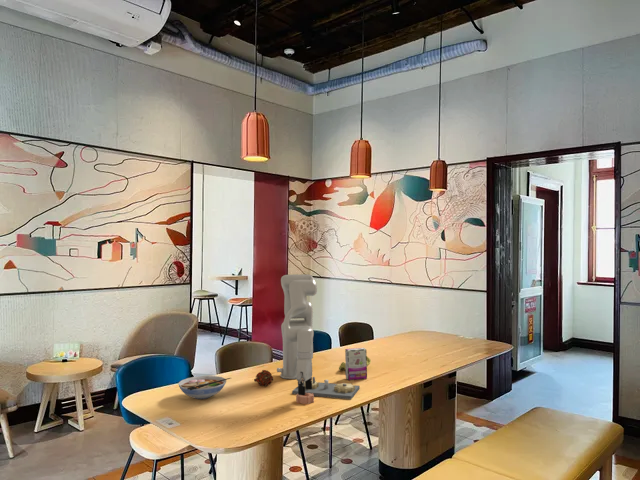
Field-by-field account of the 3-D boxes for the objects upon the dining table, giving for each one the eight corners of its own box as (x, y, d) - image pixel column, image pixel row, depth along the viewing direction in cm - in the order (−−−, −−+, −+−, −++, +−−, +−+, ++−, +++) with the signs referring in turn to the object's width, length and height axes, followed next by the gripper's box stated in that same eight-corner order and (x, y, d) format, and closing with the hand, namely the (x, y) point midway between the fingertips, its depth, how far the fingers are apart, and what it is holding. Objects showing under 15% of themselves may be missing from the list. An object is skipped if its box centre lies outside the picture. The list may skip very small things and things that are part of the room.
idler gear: (294, 402, 214) (294, 396, 214) (299, 398, 220) (299, 392, 221) (311, 404, 211) (311, 397, 211) (315, 399, 218) (315, 393, 218)
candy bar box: (364, 376, 258) (363, 347, 259) (367, 379, 254) (367, 349, 254) (345, 378, 255) (344, 348, 256) (348, 380, 251) (347, 350, 251)
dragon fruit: (270, 391, 238) (257, 389, 246) (280, 378, 243) (266, 377, 252) (261, 379, 235) (248, 378, 244) (271, 367, 240) (258, 366, 249)
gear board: (292, 393, 228) (292, 380, 228) (304, 384, 245) (304, 371, 245) (351, 399, 218) (351, 385, 219) (359, 388, 236) (359, 375, 236)
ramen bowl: (209, 386, 240) (209, 371, 241) (237, 395, 226) (237, 378, 226) (166, 398, 221) (166, 381, 221) (195, 408, 207) (195, 390, 207)
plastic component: (353, 370, 264) (340, 360, 270) (349, 380, 266) (337, 370, 272) (374, 361, 278) (361, 352, 284) (370, 371, 280) (358, 362, 286)
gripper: (303, 351, 226) (303, 386, 225) (290, 358, 209) (291, 396, 208) (318, 351, 223) (318, 387, 223) (306, 359, 207) (306, 397, 206)
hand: (305, 391), depth 216 cm, fingers open, 9 cm apart
